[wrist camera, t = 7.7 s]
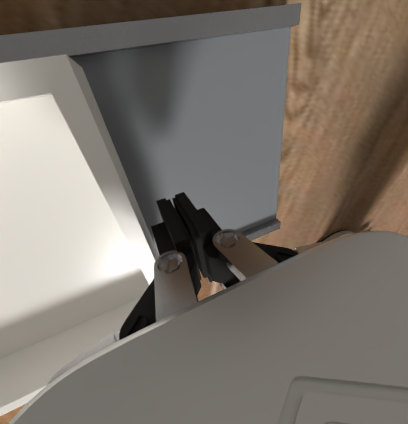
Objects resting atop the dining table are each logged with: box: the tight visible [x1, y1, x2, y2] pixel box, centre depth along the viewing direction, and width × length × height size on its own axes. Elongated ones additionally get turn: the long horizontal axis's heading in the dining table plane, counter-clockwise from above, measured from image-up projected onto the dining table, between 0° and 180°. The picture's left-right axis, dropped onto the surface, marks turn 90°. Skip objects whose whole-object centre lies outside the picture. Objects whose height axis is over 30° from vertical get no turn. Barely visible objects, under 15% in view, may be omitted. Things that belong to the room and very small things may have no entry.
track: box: [0, 3, 301, 256], centre depth 15 cm, size 32×19×2 cm, turn 99°
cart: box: [0, 54, 159, 416], centre depth 11 cm, size 16×16×7 cm
